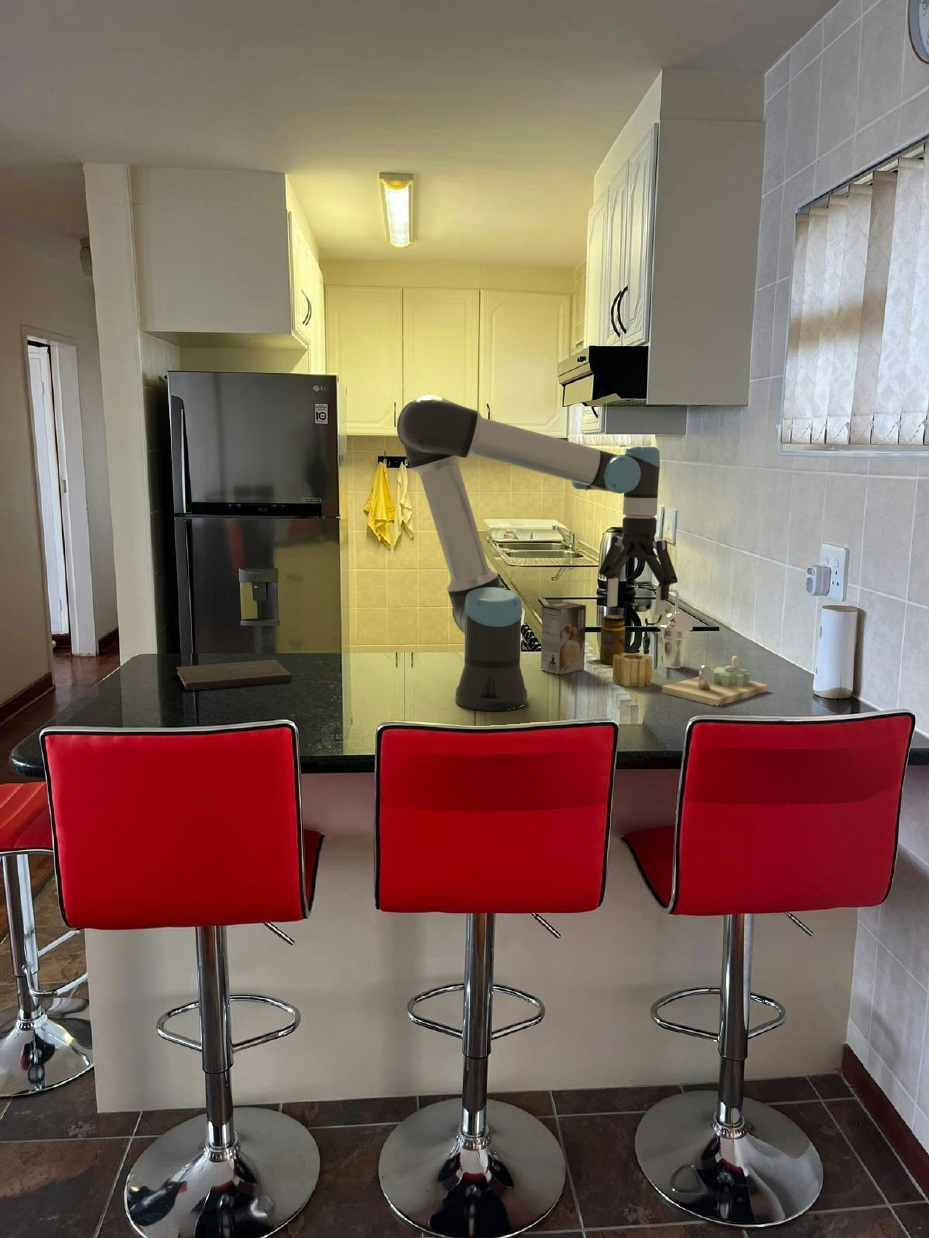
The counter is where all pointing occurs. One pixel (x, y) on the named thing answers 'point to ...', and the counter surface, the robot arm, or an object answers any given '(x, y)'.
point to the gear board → (713, 691)
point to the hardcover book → (233, 674)
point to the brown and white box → (563, 637)
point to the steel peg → (704, 677)
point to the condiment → (611, 640)
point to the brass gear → (632, 669)
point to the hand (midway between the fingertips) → (635, 610)
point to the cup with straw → (674, 636)
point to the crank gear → (730, 675)
